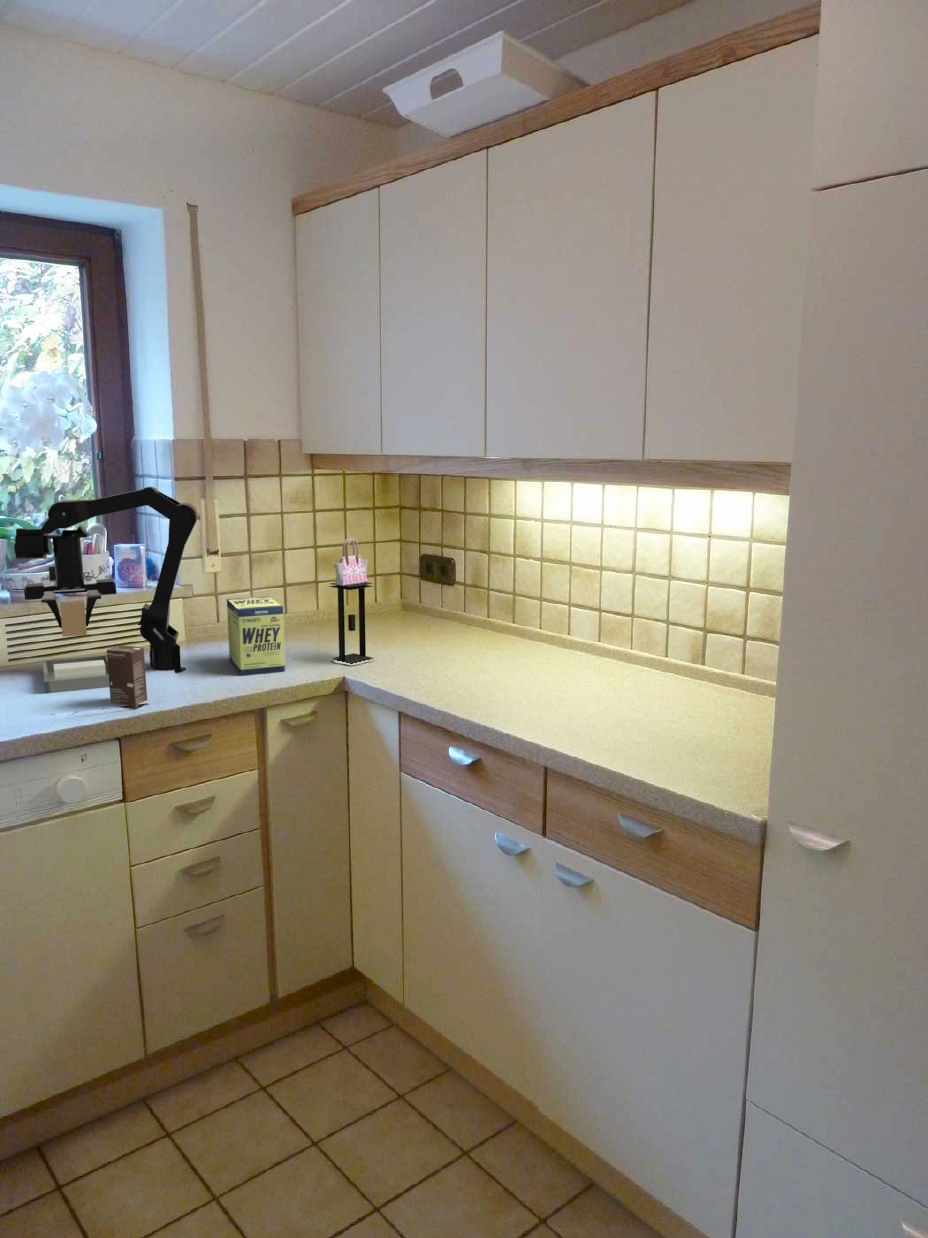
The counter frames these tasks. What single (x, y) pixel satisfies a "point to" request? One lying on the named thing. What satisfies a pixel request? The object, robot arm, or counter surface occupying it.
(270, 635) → the protein box
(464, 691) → the counter surface
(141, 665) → the box
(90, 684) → the tote
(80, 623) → the tea tin
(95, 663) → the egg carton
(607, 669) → the counter surface
